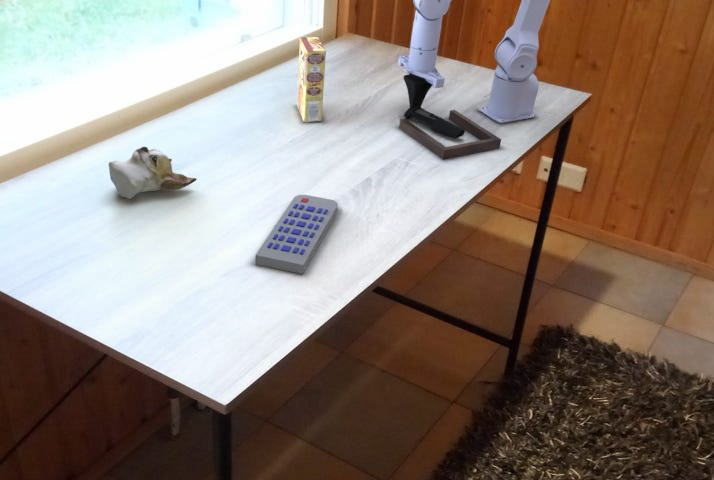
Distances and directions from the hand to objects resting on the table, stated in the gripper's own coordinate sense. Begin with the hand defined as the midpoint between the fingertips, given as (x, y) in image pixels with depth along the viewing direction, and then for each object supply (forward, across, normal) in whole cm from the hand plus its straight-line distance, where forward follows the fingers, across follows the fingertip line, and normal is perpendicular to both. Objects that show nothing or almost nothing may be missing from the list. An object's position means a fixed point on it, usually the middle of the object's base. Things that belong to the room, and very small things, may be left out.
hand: (415, 108), depth 178 cm
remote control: (+2, +36, -46) cm, 59 cm away
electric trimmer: (+2, +8, 0) cm, 8 cm away
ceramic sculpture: (+2, +11, -64) cm, 65 cm away
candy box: (+2, -9, -22) cm, 23 cm away
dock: (+1, +12, 0) cm, 12 cm away
